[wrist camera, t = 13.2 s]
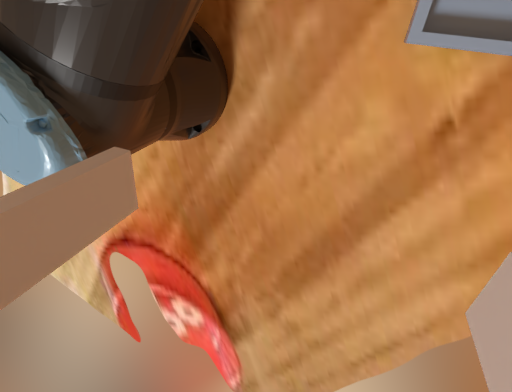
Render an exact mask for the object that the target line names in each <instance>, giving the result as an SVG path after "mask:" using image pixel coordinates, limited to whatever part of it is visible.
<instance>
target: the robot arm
mask: <svg viewBox="0 0 512 392" xmlns="http://www.w3.org/2000/svg"><path fill="white" fill-rule="evenodd" d="M203 1H204V0H0V170H1V171H2V172H3V173H4V174H6V175H7V176H9V177H10V178H12V179H13V180H15V181H17V182H19V183H21V184H23V185H25V186H24V187H22V188H20V189H17V190H15V191H13V192H11V193H8V194H6V195H4V196H2V197H0V310H2V309H3V308H4V307H6V306H7V305H8V304H10V303H11V302H12V301H14V300H15V299H16V298H18V297H19V296H21V295H22V294H23V293H24V292H26V291H27V290H29V289H30V288H31V287H33V286H34V285H35V284H37V283H38V282H39V281H41V280H42V279H43V278H45V277H46V276H47V275H49V274H50V273H52V272H53V271H54V270H56V269H57V268H58V267H60V266H61V265H62V264H64V263H65V262H66V261H68V260H69V259H70V258H72V257H73V256H74V255H76V254H77V253H78V252H80V251H81V250H83V249H84V248H85V247H87V246H88V245H89V244H91V243H92V242H93V241H95V240H96V239H97V238H99V237H100V236H101V235H103V234H104V233H105V232H107V231H108V230H109V229H111V228H112V227H114V226H115V225H116V224H118V223H119V222H120V221H122V220H123V219H124V218H126V217H127V216H128V215H130V214H131V213H132V212H134V211H135V210H136V209H138V202H137V195H136V188H135V181H134V174H133V166H132V159H131V154H133V153H135V152H137V151H139V150H141V149H143V148H145V147H147V146H148V145H150V144H152V143H154V142H156V141H158V140H187V139H191V138H194V137H197V136H199V135H200V134H202V133H204V132H205V131H207V130H209V129H210V128H211V127H212V126H213V125H214V124H215V123H216V122H217V121H218V119H219V118H220V116H221V114H222V112H223V109H224V107H225V103H226V99H227V75H226V70H225V66H224V62H223V60H222V57H221V55H220V52H219V50H218V48H217V47H216V45H215V43H214V42H213V40H212V39H211V37H210V36H209V35H208V34H207V33H206V32H205V31H204V30H203V29H202V28H201V27H200V26H199V25H198V24H196V23H195V22H194V19H195V17H196V15H197V13H198V11H199V9H200V7H201V5H202V3H203ZM465 314H466V317H467V321H468V324H469V327H470V330H471V334H472V337H473V340H474V343H475V347H476V350H477V353H478V356H479V360H480V363H481V366H482V369H483V373H484V376H485V379H486V383H487V386H488V389H489V392H512V252H510V253H509V255H508V256H507V257H506V259H505V260H504V261H503V263H502V264H501V266H500V267H499V268H498V270H497V271H496V272H495V274H494V275H493V276H492V278H491V279H490V280H489V282H488V283H487V284H486V286H485V287H484V288H483V290H482V291H481V292H480V294H479V295H478V297H477V298H476V299H475V301H474V302H473V303H472V305H471V306H470V307H469V309H468V310H467V311H466V313H465Z"/></svg>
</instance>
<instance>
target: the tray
mask: <svg viewBox="0 0 512 392" xmlns="http://www.w3.org/2000/svg"><path fill="white" fill-rule="evenodd" d="M404 42H405V43H410V44H419V45H427V46H435V47H443V48H451V49H460V50H468V51H476V52H484V53H492V54H500V55H509V56H512V0H417V3H416V6H415V9H414V13H413V16H412V19H411V22H410V25H409V28H408V31H407V34H406V37H405V40H404Z"/></svg>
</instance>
